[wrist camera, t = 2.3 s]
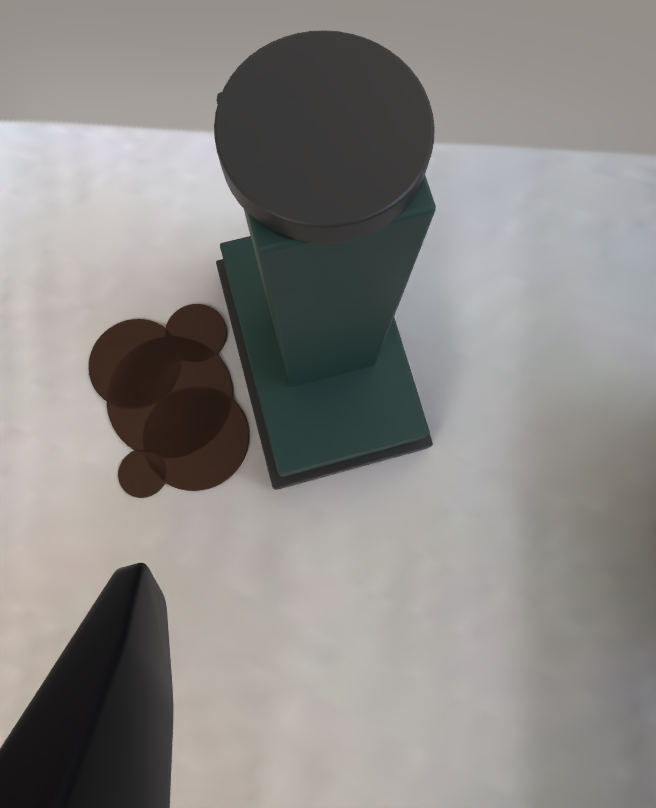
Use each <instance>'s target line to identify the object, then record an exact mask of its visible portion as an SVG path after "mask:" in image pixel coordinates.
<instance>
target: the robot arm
mask: <svg viewBox="0 0 656 808" xmlns="http://www.w3.org/2000/svg"><path fill="white" fill-rule="evenodd" d="M172 738H173V688H172V674H171V660H170V646H169V632H168V619H167V607H166V601H165V598H164V595H163V593H162V591H161V589H160V587H159V586H158V584H157V582H156V580H155V578H154V577H153V575H152V573H151V571H150V570H149V568H148V566H147V565H146V564H144V563H137V564H133V565H129V566H126V567H122V568H119V569H118V570H116V571H115V572H114V574H113V575H112V577H111V578H110V580H109V581H108V583H107V584H106V586H105V587H104V589H103V591H102V592H101V594H100V595H99V597H98V598H97V600H96V601H95V603H94V604H93V606H92V608H91V609H90V611H89V612H88V614H87V615H86V617H85V618H84V620H83V621H82V623H81V625H80V626H79V628H78V629H77V631H76V632H75V634H74V635H73V637H72V639H71V640H70V642H69V643H68V645H67V646H66V648H65V649H64V651H63V652H62V654H61V656H60V657H59V659H58V660H57V662H56V663H55V665H54V666H53V668H52V669H51V671H50V673H49V674H48V676H47V677H46V679H45V680H44V682H43V683H42V685H41V686H40V688H39V690H38V691H37V693H36V694H35V696H34V697H33V699H32V700H31V702H30V704H29V705H28V707H27V708H26V710H25V711H24V713H23V714H22V716H21V717H20V719H19V721H18V722H17V724H16V725H15V727H14V728H13V730H12V731H11V733H10V734H9V736H8V738H7V739H6V741H5V742H4V744H3V745H2V747H1V748H0V808H170V787H171V763H172Z"/></svg>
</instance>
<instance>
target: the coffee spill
mask: <svg viewBox="0 0 656 808" xmlns="http://www.w3.org/2000/svg"><path fill="white" fill-rule="evenodd" d="M226 336H227V330H226V325H225V322H224V320H223V318H222V317H221V315H220V314H219V313H218V312H217V311H216V310H214V309H213V308H211V307H209V306H206V305H201V304H192V305H187V306H184V307H182V308H180V309H179V310H177V311H176V312H175V313H174V314H173V315H172V316H171V317H170V319H169V321H168V322H167V325H166V328H165V327H163V326H162V325H160V324H158V323H156V322H153V321H149V320H144V319H133V320H127V321H124V322H120V323H118V324H116V325H114V326H112V327H111V328H109V329H108V330H107V331H105V332H104V333H103V334H102V335H101V336H100V338H99V339H98V340H97V342H96V343H95V345H94V347H93V349H92V351H91V355H90V358H89V376H90V379H91V382H92V384H93V387H94V388H95V390H96V391H97V393H98V394H99V395H100V396H101V397H102V398H103V399H104V400H105V401H107V410H108V415H109V418H110V421H111V424H112V426H113V428H114V430H115V431H116V433H117V434H118V436H119V437H120V438H121V439H122V440H123V441H124V442H125V443H126V444H127V445H128V446H129V447H131V448H132V449H134V450H135V451H133V452H131V453H130V454H128V455H127V456H126V457H125V458H124V459H123V461H122V462H121V464H120V467H119V471H118V478H119V483H120V485H121V487H122V488H123V489H124V491H125V492H126V493H128V494H129V495H131V496H134V497H140V498H144V497H149V496H152V495H154V494H155V493H157V492H158V491H159V490H160V489H161V488H162V487H163V485H164V484H165V483H167V484H169V485H171V486H173V487H175V488H178V489H182V490H188V491H199V490H205V489H209V488H212V487H215V486H217V485H219V484H221V483H223V482H224V481H226V480H227V479H228V478H229V477H231V476H232V475H233V474H234V473H235V472H236V470H237V469H238V468H239V466H240V465H241V463H242V461H243V459H244V458H245V455H246V452H247V448H248V443H249V430H248V424H247V421H246V418H245V416H244V414H243V411H242V410H241V408H240V407H239V405H238V404H237V403H236V402H235V401H234V400H233V387H232V381H231V378H230V375H229V372H228V370H227V368H226V366H225V365H224V363H223V362H222V360H221V359H220V358H219V356H218V355H217V354H218V353H219V352H220V351H221V349H222V348H223V346H224V344H225V341H226Z"/></svg>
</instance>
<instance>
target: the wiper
mask: <svg viewBox="0 0 656 808" xmlns="http://www.w3.org/2000/svg"><path fill="white" fill-rule="evenodd" d="M217 104H218V106H217V110H216V114H215V124H214V134H215V143H216V149H217V153H218V157H219V160H220V164H221V167H222V170H223V173H224V176H225V179H226V182H227V184H228V186H229V188H230V190H231V192H232V194H233V195H234V197H235V198H236V199H237V201H238V202H239V204H240V205H241V206H242V207H243V208H244V211H245V215H246V219H247V223H248V227H249V231H250V235H251V236H249V237H245V238H241V239H237V240H232V241H228V242H224V243H221V244H220V248H221V252H222V256H223V259H222V260H218V261H216V264H217V268H218V272H219V276H220V280H221V284H222V288H223V292H224V296H225V300H226V304H227V308H228V312H229V316H230V320H231V324H232V328H233V332H234V336H235V340H236V344H237V348H238V352H239V356H240V360H241V364H242V368H243V372H244V376H245V380H246V384H247V388H248V392H249V396H250V400H251V404H252V408H253V412H254V415H255V419H256V423H257V427H258V431H259V435H260V439H261V443H262V447H263V451H264V455H265V459H266V463H267V467H268V471H269V475H270V479H271V483H272V487H273V489H276V490H277V489H281V488H284V487H288V486H292V485H295V484H299V483H303V482H306V481H310V480H314V479H317V478H321V477H325V476H328V475H332V474H336V473H339V472H343V471H347V470H350V469H354V468H358V467H361V466H365V465H369V464H372V463H376V462H380V461H383V460H387V459H391V458H394V457H398V456H402V455H405V454H409V453H413V452H416V451H420V450H424V449H427V448H429V447H431V446H432V445H433V443H432V439H431V436H430V433H429V429H428V425H427V422H426V419H425V416H424V412H423V409H422V406H421V403H420V399H419V396H418V393H417V390H416V386H415V383H414V380H413V377H412V373H411V370H410V367H409V364H408V360H407V357H406V354H405V351H404V347H403V344H402V341H401V338H400V334H399V331H398V328H397V325H396V321H395V318H394V315H395V312H396V310H397V307H398V305H399V302H400V300H401V297H402V294H403V292H404V289H405V287H406V284H407V282H408V279H409V276H410V274H411V271H412V269H413V266H414V264H415V261H416V258H417V256H418V253H419V251H420V248H421V246H422V243H423V241H424V238H425V235H426V233H427V230H428V228H429V225H430V223H431V220H432V217H433V215H434V212H435V207H436V206H435V203H434V200H433V197H432V194H431V191H430V188H429V185H428V182H427V179H426V176H425V173H426V169H427V166H428V163H429V160H430V157H431V154H432V149H433V143H434V120H433V113H432V109H431V106H430V102H429V99H428V97H427V94H426V92H425V90H424V88H423V86H422V84H421V83H420V81H419V79H418V78H417V77H416V76H415V74H414V73H413V71H412V70H411V69H410V68H409V67H408V66H407V65H406V64H405V63H404V62H403V61H402V60H401V59H400V58H399V57H398V56H396V55H395V54H394V53H392V52H391V51H390V50H388V49H386V48H384V47H383V46H381V45H380V44H378V43H376V42H373V41H371V40H369V39H366V38H363V37H360V36H357V35H354V34H349V33H343V32H338V31H309V32H303V33H297V34H293V35H290V36H286V37H283V38H281V39H278V40H276V41H273V42H271V43H269V44H267V45H265V46H264V47H262V48H260V49H259V50H257V51H256V52H255V53H253V54H252V55H250V56H249V57H248V58H247V59H246V60H245V61H244V62H243V63H242V64H241V65H240V66H239V67H238V68H237V69H236V71H235V72H234V73H233V74H232V76H231V77H230V79H229V80H228V82H227V84H226V85H225V87H224V89H223V92H220V93H219V94H218V96H217Z"/></svg>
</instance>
